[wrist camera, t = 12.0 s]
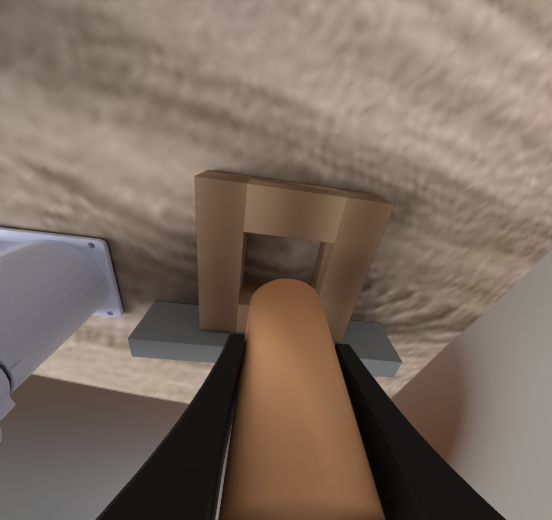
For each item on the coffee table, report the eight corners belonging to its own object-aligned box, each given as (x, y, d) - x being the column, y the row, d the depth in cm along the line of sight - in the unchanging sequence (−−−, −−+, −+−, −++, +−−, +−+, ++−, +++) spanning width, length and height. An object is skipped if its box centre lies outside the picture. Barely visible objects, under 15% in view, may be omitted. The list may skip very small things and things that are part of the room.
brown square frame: (208, 305, 21) (199, 329, 18) (208, 169, 15) (194, 176, 13) (332, 317, 22) (340, 342, 19) (375, 193, 16) (394, 204, 14)
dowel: (249, 333, 13) (222, 552, 6) (249, 276, 11) (210, 499, 4) (316, 335, 13) (363, 552, 6) (326, 280, 12) (410, 500, 4)
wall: (157, 316, 22) (132, 356, 18) (155, 300, 21) (127, 338, 17) (372, 337, 23) (393, 377, 20) (379, 323, 23) (402, 362, 19)
